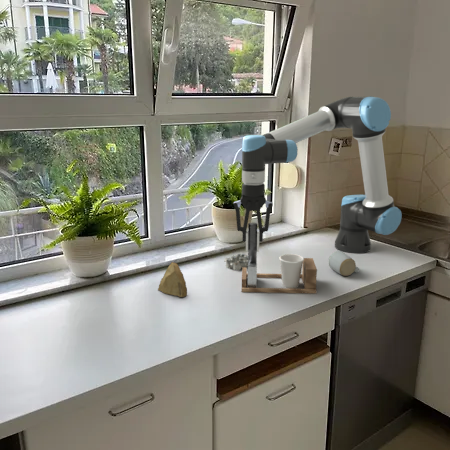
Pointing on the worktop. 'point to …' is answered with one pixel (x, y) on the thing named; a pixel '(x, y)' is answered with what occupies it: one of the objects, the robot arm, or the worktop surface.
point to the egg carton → (237, 261)
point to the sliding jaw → (252, 255)
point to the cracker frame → (307, 277)
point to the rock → (173, 281)
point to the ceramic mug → (342, 263)
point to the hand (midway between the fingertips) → (252, 250)
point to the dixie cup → (291, 269)
